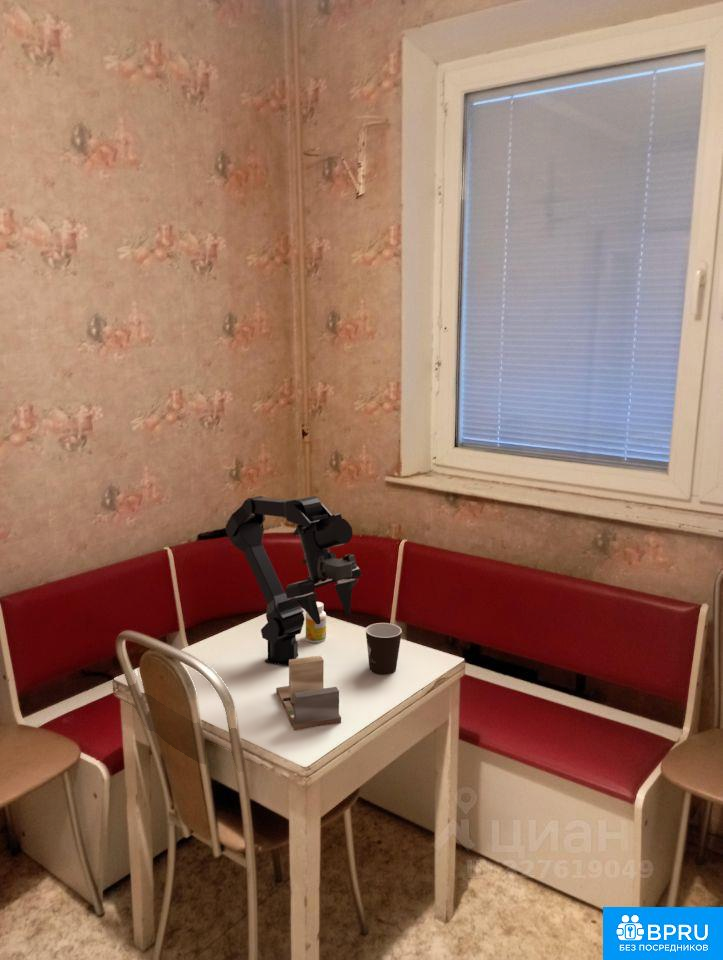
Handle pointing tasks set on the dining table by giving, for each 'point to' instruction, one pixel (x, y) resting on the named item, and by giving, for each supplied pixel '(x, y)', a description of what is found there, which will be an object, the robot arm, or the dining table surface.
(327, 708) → the gauge track
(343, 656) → the dining table surface
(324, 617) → the supplement bottle
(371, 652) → the coffee mug
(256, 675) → the dining table surface
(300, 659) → the pad
